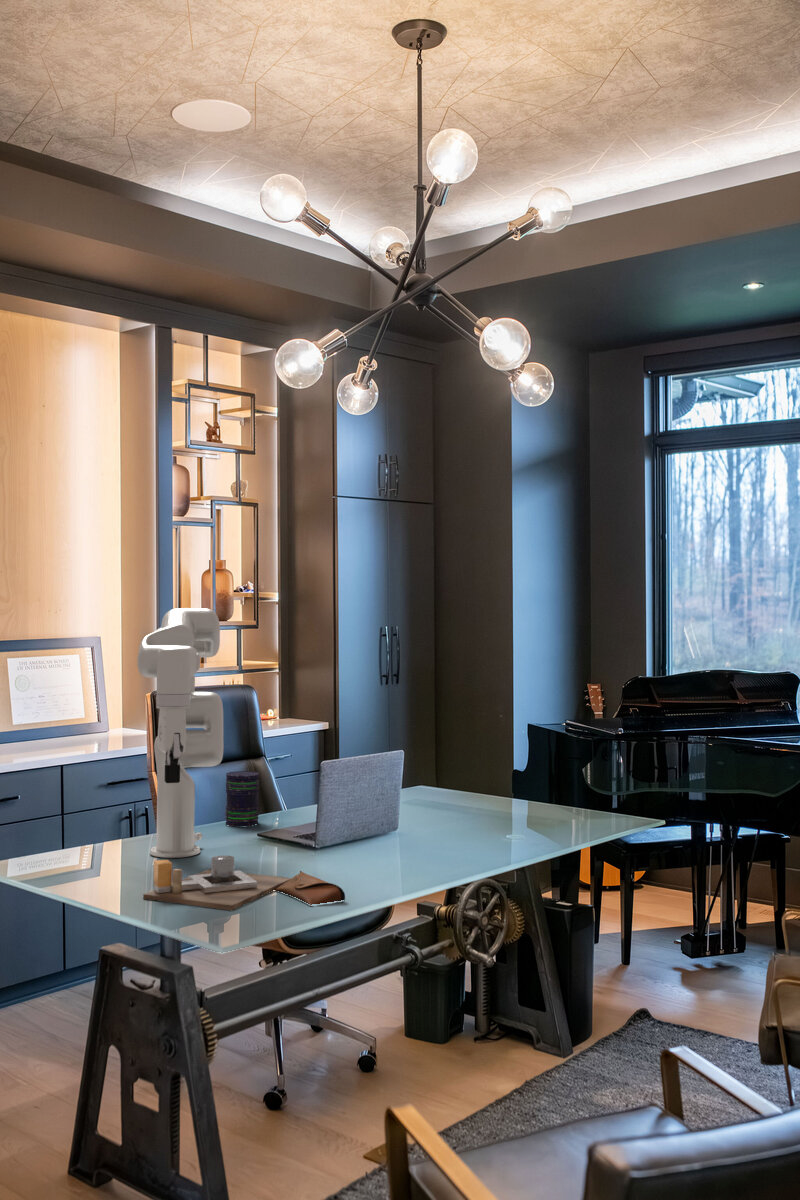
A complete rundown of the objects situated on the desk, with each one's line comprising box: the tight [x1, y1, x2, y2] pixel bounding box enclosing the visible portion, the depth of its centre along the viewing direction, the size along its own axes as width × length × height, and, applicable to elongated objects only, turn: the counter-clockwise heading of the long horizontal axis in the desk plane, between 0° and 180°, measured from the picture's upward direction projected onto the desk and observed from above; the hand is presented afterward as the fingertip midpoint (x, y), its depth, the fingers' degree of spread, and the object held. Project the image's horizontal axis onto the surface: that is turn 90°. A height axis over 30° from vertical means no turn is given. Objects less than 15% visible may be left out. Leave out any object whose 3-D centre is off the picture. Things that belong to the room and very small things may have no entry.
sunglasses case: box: [275, 870, 346, 905], centre depth 232 cm, size 18×7×7 cm
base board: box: [142, 868, 293, 911], centre depth 235 cm, size 26×22×1 cm
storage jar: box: [224, 770, 260, 827], centre depth 314 cm, size 10×10×15 cm
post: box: [210, 855, 235, 884], centre depth 236 cm, size 5×5×6 cm
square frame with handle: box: [153, 859, 257, 893], centre depth 234 cm, size 21×12×6 cm, turn 117°
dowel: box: [172, 868, 183, 894], centre depth 229 cm, size 2×2×5 cm
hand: (172, 782), depth 241 cm, fingers closed
